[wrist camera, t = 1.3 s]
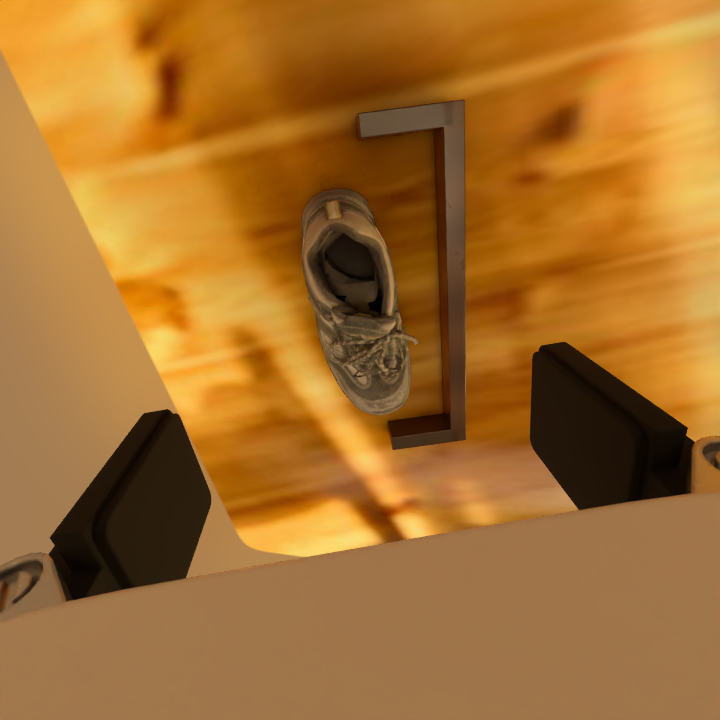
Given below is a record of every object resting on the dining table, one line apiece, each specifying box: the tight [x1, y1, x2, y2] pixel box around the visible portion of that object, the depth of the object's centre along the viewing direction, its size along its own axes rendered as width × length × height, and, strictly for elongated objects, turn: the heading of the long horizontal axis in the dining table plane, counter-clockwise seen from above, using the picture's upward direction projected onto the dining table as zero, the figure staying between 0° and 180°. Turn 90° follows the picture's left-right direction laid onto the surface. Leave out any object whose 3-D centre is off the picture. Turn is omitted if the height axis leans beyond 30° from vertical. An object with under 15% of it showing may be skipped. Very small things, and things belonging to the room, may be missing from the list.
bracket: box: [356, 100, 466, 450], centre depth 38 cm, size 31×8×3 cm, turn 7°
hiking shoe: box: [302, 188, 418, 415], centre depth 35 cm, size 9×21×12 cm
